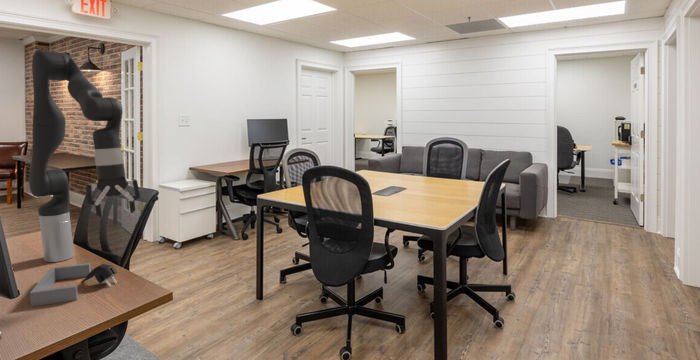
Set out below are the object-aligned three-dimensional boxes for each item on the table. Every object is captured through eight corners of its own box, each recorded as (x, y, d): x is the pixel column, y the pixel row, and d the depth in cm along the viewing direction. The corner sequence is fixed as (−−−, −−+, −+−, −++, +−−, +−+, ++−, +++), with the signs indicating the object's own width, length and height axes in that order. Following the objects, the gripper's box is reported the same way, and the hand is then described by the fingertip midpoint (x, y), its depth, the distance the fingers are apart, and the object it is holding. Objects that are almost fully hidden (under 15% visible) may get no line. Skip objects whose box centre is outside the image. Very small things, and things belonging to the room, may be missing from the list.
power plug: (88, 276, 138) (112, 258, 135) (101, 295, 138) (125, 277, 135) (73, 283, 133) (98, 264, 130) (87, 302, 133) (112, 284, 130)
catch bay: (52, 279, 138) (50, 267, 137) (91, 274, 142) (89, 263, 141) (31, 306, 118) (29, 292, 118) (77, 299, 122) (75, 286, 122)
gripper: (135, 160, 136) (142, 209, 138) (84, 164, 130) (91, 216, 132) (135, 161, 129) (141, 213, 131) (81, 166, 123) (88, 220, 125)
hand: (116, 214), depth 131 cm, fingers open, 8 cm apart
